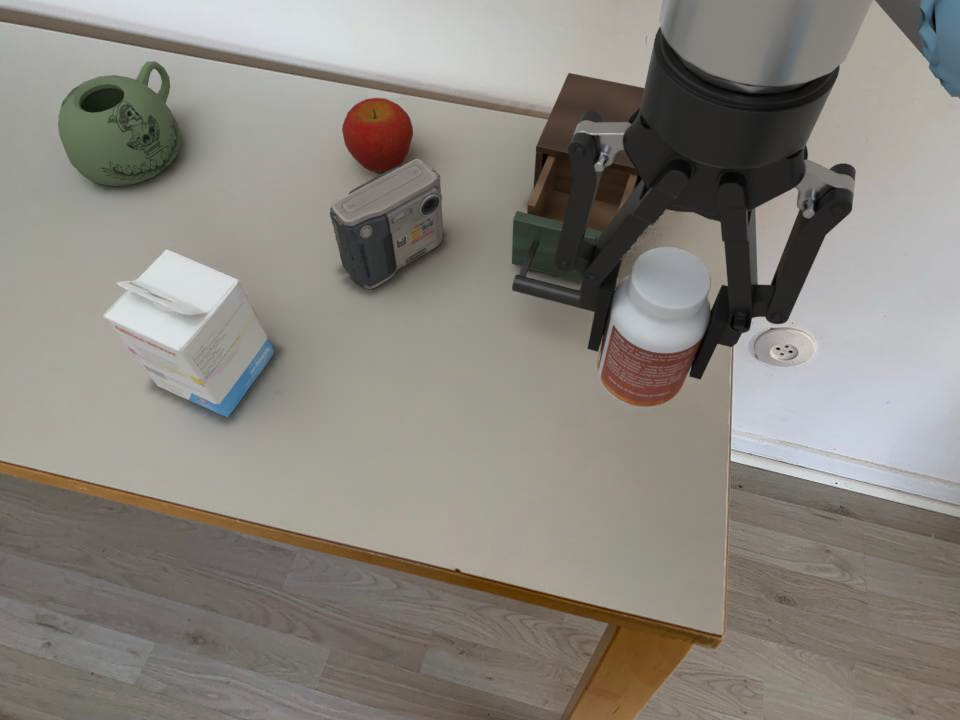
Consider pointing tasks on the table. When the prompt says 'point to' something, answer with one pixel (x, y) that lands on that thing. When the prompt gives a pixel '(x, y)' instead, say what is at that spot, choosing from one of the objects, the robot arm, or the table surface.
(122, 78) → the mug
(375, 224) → the camera
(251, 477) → the table surface
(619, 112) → the cabinet
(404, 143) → the apple
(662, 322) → the pill bottle
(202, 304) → the ink box
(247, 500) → the table surface
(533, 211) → the drawer
